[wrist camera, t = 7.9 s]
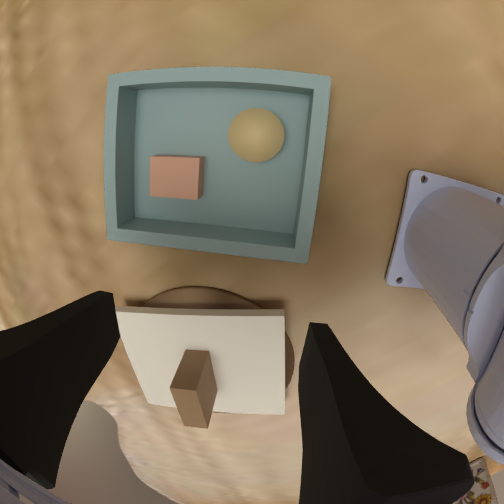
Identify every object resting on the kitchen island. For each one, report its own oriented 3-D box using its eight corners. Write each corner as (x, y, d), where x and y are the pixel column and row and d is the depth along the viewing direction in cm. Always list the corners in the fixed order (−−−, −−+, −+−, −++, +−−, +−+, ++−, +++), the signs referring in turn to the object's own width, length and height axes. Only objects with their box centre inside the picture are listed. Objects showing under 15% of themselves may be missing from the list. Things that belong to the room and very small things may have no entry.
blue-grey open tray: (323, 85, 15) (331, 76, 12) (304, 244, 19) (307, 263, 16) (132, 80, 16) (108, 74, 13) (129, 224, 20) (107, 239, 17)
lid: (284, 302, 20) (283, 357, 15) (285, 400, 24) (283, 452, 19) (121, 300, 22) (85, 343, 17) (153, 391, 26) (134, 434, 21)
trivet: (309, 299, 21) (309, 302, 20) (280, 417, 26) (280, 420, 26) (121, 273, 21) (119, 276, 21) (143, 393, 27) (142, 396, 26)
